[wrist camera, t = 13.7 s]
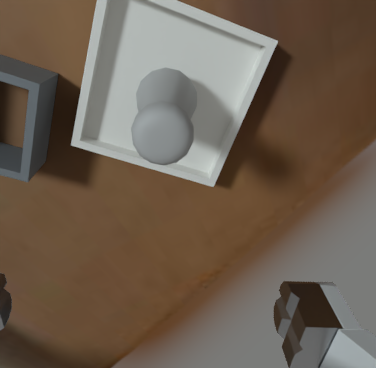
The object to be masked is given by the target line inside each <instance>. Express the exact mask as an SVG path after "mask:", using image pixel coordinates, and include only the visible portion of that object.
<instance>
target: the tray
mask: <svg viewBox="0 0 376 368" xmlns="http://www.w3.org/2000/svg"><path fill="white" fill-rule="evenodd" d="M277 43H278V41H276V40H274V39H271V38H269V37H266V36H264V35H261V34H259V33H256V32H254V31H251V30H249V29H246V28H244V27H242V26H239V25H237V24H234V23H232V22H229V21H227V20H224V19H222V18H219V17H217V16H214V15H212V14H209V13H207V12H204V11H202V10H199V9H197V8H194V7H192V6H189V5H187V4H184V3H182V2H179V1H177V0H97V3H96V9H95V14H94V20H93V25H92V31H91V36H90V42H89V47H88V53H87V58H86V64H85V69H84V75H83V80H82V86H81V91H80V97H79V102H78V108H77V114H76V119H75V125H74V130H73V136H72V141H71V146H74V147H78V148H81V149H85V150H88V151H92V152H95V153H98V154H102V155H105V156H109V157H112V158H116V159H119V160H122V161H126V162H129V163H133V164H136V165H140V166H143V167H146V168H150V169H153V170H157V171H160V172H164V173H167V174H171V175H174V176H177V177H181V178H184V179H188V180H191V181H195V182H198V183H201V184H205V185H208V186H212V187H214V185H215V183H216V180H217V178H218V176H219V173H220V171H221V169H222V167H223V164H224V162H225V160H226V158H227V155H228V153H229V151H230V149H231V146H232V144H233V142H234V140H235V137H236V135H237V133H238V131H239V128H240V126H241V124H242V122H243V119H244V117H245V115H246V113H247V110H248V108H249V106H250V104H251V101H252V99H253V97H254V94H255V92H256V90H257V88H258V85H259V83H260V81H261V79H262V76H263V74H264V72H265V70H266V67H267V65H268V63H269V61H270V58H271V56H272V54H273V52H274V49H275V47H276V45H277ZM165 67H166V68H170V69H175V70H180V71H181V72H182V73H183V74H185V75H186V76H187V77H188V78H189V79H190V80H191V81H192V83H193V85H194V87H195V89H196V91H197V107H196V109H195V111H194V114H193V116H192V118H191V122H192V124H193V126H194V140H193V143H192V145H191V147H190V149H189V151H188V153H187V155H186V156H185V157H183V158H182V159H181V160H179V161H178V162H177V163H172V164H168V165H158V164H153V163H150V162H148V161H147V160H145V159H144V158H142V157H141V156H140V155H139V154H138V152H137V150H136V149H135V147H134V146H133V141H132V132H131V127H132V124H133V122H134V120H135V117H136V115H137V113H138V108H137V100H136V92H137V90H138V87H139V84H140V82H141V80H142V79H143V78H144V77H145V76H147V75H148V74H149V73H150V72H151V71H153V70H157V69H161V68H165Z"/></svg>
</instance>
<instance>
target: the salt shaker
mask: <svg viewBox="0 0 376 368" xmlns="http://www.w3.org/2000/svg"><path fill="white" fill-rule="evenodd" d="M136 100H137V108H138V113H137V115H136V117H135V120H134V122H133V124H132V127H131V132H132V141H133V146H134V147H135V149H136V150H137V152H138V154H139V155H140V156H141V157H142V158H144V159H145V160H147V161H148V162H150V163H153V164H158V165H168V164H172V163H177V162H178V161H179V160H181V159H182V158H183V157H185V156H186V155H187V153H188V151H189V149H190V147H191V145H192V143H193V140H194V126H193V124H192V122H191V118H192V116H193V114H194V111H195V109H196V107H197V91H196V89H195V87H194V85H193V83H192V81H191V80H190V79H189V78H188V77H187V76H186V75H185V74H183V73H182V72H181V71H180V70H175V69H170V68H166V67H165V68H161V69H157V70H153V71H151V72H150V73H149V74H148V75H147V76H145V77H144V78H143V79H142V80H141V82H140V84H139V87H138V90H137V92H136Z"/></svg>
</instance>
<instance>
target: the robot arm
mask: <svg viewBox="0 0 376 368" xmlns="http://www.w3.org/2000/svg"><path fill="white" fill-rule="evenodd" d="M6 284H7V281H6V278H5V275H4V274H2V273H0V330H2V329H3V328H4V327H5V325H6V323H7V321H8V319H9V316H10V312H11V308H12V299H11V295H10V293H9V292H8V291H6V290H5V289H4V287H5V285H6ZM279 291H280V294H281V297H280V298H279V299H278V300H276V302H275V306H274V322H275V326H276V330H277V333H278V334H279V335H280V336H281V337H282V338H284V342H283V345H282V349H283V352H284V354H285V358H286V361H287V364H288V367H289V368H376V336H375V335H374V334H373V333H371V332H370V331H369V330H367V329H362V328H361V326H360V325H359V323H358V321H357V319H356V318H355V316H354V314H353V313H352V311H351V310H350V308H349V306H348V304H347V303H346V301H345V299H344V298H343V296H342V294H341V293H340V291H339V289H338V288H337V286H336V285H335V284H334V283H332V282H291V281H290V282H289V281H284V282H283V283H282V284H281V286H280V290H279Z"/></svg>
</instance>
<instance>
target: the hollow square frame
mask: <svg viewBox="0 0 376 368" xmlns="http://www.w3.org/2000/svg"><path fill="white" fill-rule="evenodd" d="M0 81H2V82H5V83H9V84H12V85H15V86H18V87H21V88H24V89H28V90H29V95H28V104H27V114H26V124H25V133H24V143H23V148H19V147H16V146H12V145H8V144H5V143H1V142H0V175H2V176H6V177H10V178H14V179H18V180H21V181H25V182H29V180H30V179H31V178H32V177H33V176H34V175H35V173H36V172H37V171H38V170H39V169H40V168H41V166H42V165H43V164H44V163H45V162H46V157H47V150H48V143H49V136H50V129H51V122H52V115H53V108H54V101H55V94H56V87H57V81H58V73H55V72H52V71H49V70H46V69H43V68H40V67H37V66H34V65H31V64H28V63H25V62H22V61H19V60H16V59H13V58H10V57H7V56H3V55H0Z"/></svg>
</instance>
